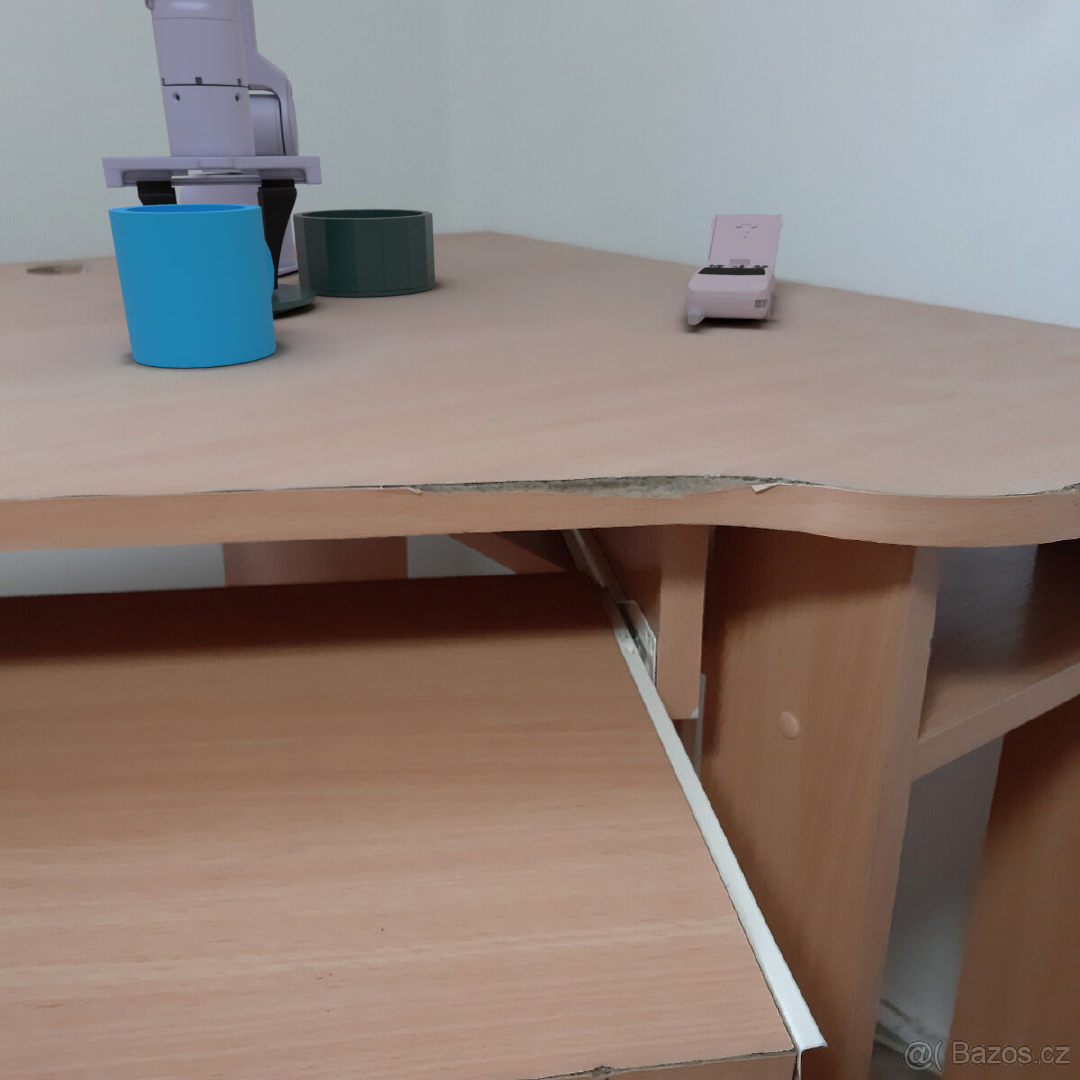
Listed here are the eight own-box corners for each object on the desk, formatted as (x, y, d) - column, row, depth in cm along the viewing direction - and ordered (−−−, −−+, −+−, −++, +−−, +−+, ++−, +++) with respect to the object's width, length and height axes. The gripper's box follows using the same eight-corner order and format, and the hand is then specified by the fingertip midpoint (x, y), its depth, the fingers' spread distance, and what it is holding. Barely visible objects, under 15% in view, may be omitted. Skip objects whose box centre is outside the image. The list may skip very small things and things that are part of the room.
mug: (227, 371, 52) (207, 214, 49) (101, 362, 54) (74, 211, 51) (330, 332, 63) (319, 201, 60) (221, 326, 65) (205, 199, 62)
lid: (111, 321, 67) (99, 254, 65) (198, 295, 78) (190, 237, 76) (274, 326, 65) (267, 258, 63) (340, 299, 76) (335, 240, 74)
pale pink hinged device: (784, 213, 82) (776, 238, 59) (778, 283, 84) (768, 333, 62) (713, 212, 83) (679, 237, 61) (709, 282, 85) (675, 331, 63)
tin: (277, 295, 78) (269, 217, 76) (330, 276, 88) (324, 208, 86) (411, 298, 76) (407, 219, 74) (449, 279, 87) (446, 209, 84)
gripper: (86, 83, 60) (122, 303, 65) (319, 86, 64) (336, 292, 70) (93, 88, 66) (126, 289, 71) (306, 91, 71) (323, 279, 76)
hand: (230, 290), depth 71 cm, fingers open, 5 cm apart
